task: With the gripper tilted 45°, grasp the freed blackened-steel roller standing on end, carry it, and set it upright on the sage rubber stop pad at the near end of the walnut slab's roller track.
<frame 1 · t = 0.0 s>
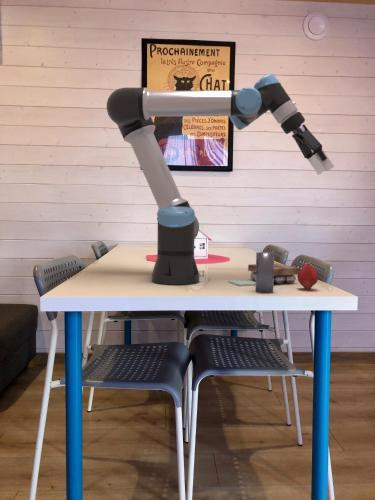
hand: (326, 171, 150), 36 cm above the table, tool tilted 35°, fingers open, 13 cm apart
steel roller: (264, 291, 129), on the table
roller track: (272, 282, 146), on the table
red strawberry: (307, 290, 133), on the table
slab: (272, 269, 146), point 4 cm above the table, slide at 0.0 cm
stop pad: (243, 283, 142), on the table
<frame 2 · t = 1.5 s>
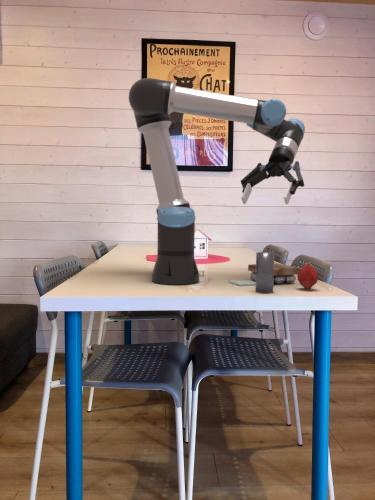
hand: (264, 200, 137), 26 cm above the table, tool tilted 45°, fingers open, 13 cm apart
nothing on the table moved.
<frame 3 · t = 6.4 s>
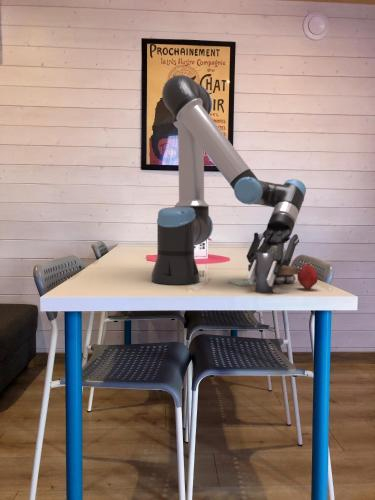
hand: (259, 281, 125), 3 cm above the table, tool tilted 45°, fingers closed on steel roller, 5 cm apart
steel roller: (264, 291, 129), on the table, touching gripper
everything else where it was.
when the fingers open (5 cm above the table, at t = 11.3 s): steel roller drops 1 cm, resting on stop pad.
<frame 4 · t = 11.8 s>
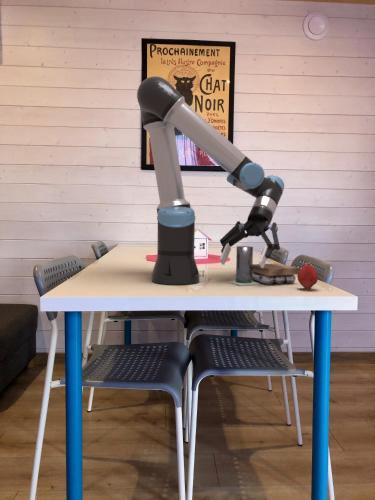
hand: (240, 263, 139), 7 cm above the table, tool tilted 45°, fingers open, 12 cm apart
steel roller: (243, 282, 142), point 1 cm above the table, touching stop pad
everything else where it was.
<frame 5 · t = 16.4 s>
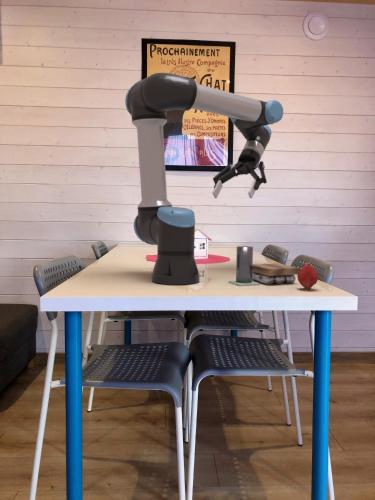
hand: (231, 195, 157), 28 cm above the table, tool tilted 45°, fingers open, 13 cm apart
nothing on the table moved.
at the end: steel roller 0.1 cm off-centre on the stop pad, point 0.5 cm above the stop pad's base; steel roller tilted 0°; slab slide at 0.0 cm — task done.
